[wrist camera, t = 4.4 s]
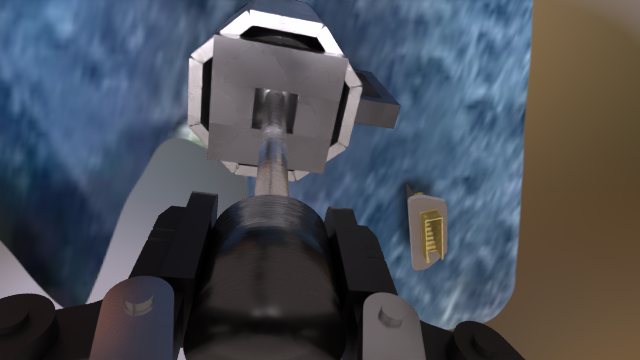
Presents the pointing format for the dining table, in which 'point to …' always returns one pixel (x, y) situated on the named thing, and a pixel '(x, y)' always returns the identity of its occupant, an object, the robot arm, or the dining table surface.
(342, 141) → the press pot
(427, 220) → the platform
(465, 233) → the dining table surface
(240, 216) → the plunger
